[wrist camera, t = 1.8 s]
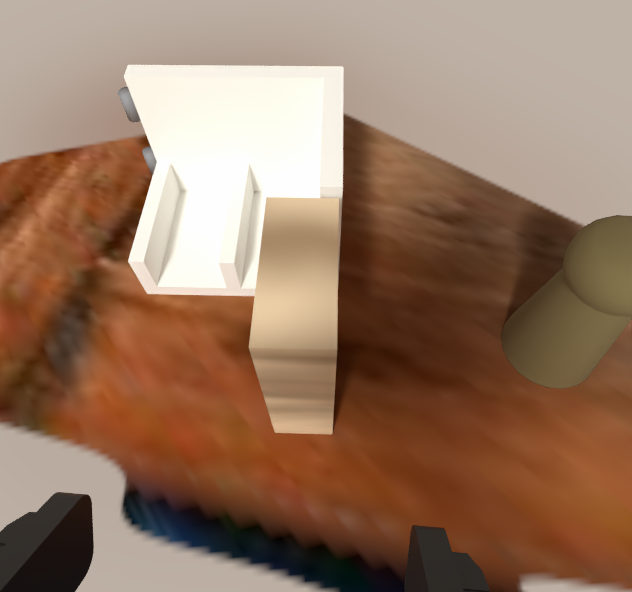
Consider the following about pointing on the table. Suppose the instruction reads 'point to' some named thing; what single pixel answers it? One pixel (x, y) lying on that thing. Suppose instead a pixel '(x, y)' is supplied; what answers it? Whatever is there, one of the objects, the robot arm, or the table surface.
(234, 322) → the table surface
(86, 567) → the robot arm
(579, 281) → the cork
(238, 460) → the table surface
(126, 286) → the table surface
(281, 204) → the block
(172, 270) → the white open box
